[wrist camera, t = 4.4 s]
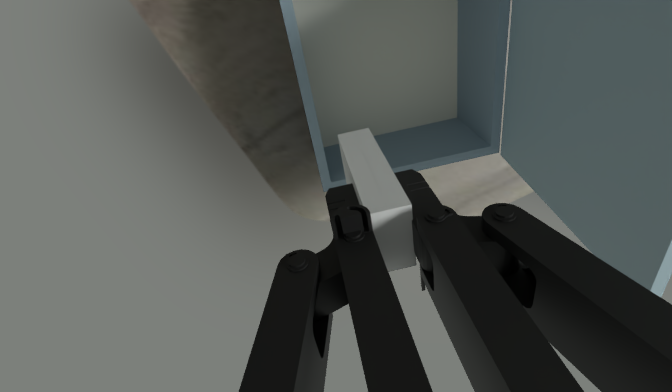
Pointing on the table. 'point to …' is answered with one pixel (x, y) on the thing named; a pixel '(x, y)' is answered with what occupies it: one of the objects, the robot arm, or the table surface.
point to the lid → (597, 124)
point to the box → (400, 77)
